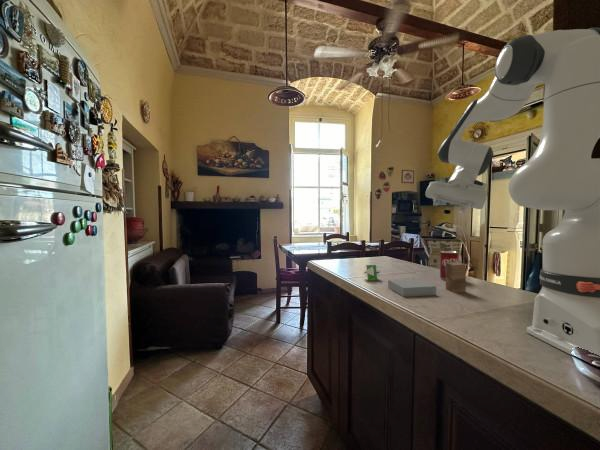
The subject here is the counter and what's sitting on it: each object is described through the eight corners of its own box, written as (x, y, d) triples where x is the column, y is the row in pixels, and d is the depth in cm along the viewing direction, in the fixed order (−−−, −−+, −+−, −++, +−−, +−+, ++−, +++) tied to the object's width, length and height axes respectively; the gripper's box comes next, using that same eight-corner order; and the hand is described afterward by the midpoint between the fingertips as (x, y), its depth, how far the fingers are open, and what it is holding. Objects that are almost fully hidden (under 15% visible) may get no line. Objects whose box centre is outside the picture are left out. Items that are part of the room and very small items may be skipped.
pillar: (465, 291, 92) (465, 264, 92) (454, 292, 91) (453, 264, 91) (457, 288, 96) (456, 262, 96) (445, 289, 96) (445, 262, 96)
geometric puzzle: (361, 272, 119) (363, 260, 114) (376, 272, 119) (379, 260, 114) (364, 284, 114) (366, 272, 109) (380, 284, 113) (382, 272, 108)
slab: (436, 294, 89) (436, 286, 89) (403, 296, 88) (403, 287, 88) (417, 286, 101) (417, 278, 101) (388, 287, 100) (388, 280, 100)
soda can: (462, 280, 108) (462, 252, 108) (445, 281, 108) (445, 253, 108) (452, 277, 115) (452, 250, 115) (436, 277, 115) (436, 251, 115)
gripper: (432, 174, 105) (420, 194, 99) (491, 184, 94) (482, 208, 87) (430, 186, 109) (418, 206, 103) (487, 197, 98) (477, 221, 92)
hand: (448, 207), depth 95 cm, fingers open, 8 cm apart
